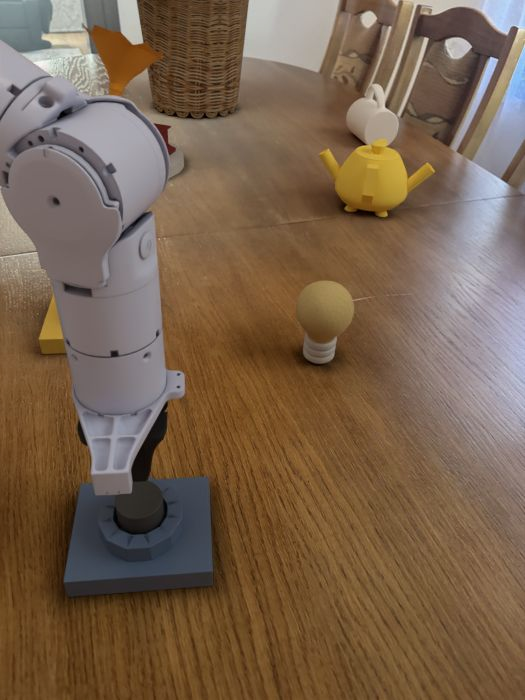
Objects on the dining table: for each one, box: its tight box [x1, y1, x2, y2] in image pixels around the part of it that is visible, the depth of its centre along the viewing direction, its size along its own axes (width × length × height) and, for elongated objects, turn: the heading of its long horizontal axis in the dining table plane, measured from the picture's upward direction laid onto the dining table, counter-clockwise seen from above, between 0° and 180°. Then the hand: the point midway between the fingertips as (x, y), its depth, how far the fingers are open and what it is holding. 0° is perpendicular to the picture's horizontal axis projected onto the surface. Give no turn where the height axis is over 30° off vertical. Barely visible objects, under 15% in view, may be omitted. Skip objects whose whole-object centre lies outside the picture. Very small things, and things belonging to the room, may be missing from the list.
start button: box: [115, 481, 164, 534], centre depth 44 cm, size 4×4×2 cm
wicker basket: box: [136, 0, 250, 120], centre depth 133 cm, size 35×35×33 cm
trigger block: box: [37, 292, 67, 355], centre depth 68 cm, size 12×10×4 cm
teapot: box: [318, 139, 436, 218], centre depth 97 cm, size 20×18×11 cm
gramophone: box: [82, 24, 185, 179], centre depth 103 cm, size 20×20×25 cm
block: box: [62, 476, 214, 598], centre depth 45 cm, size 11×9×4 cm
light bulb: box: [295, 280, 355, 365], centre depth 63 cm, size 6×6×10 cm
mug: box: [345, 83, 400, 147], centre depth 124 cm, size 8×10×12 cm
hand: (134, 474), depth 41 cm, fingers closed
